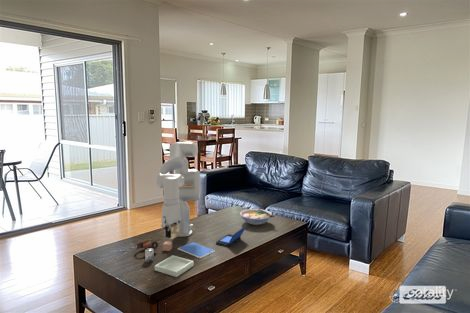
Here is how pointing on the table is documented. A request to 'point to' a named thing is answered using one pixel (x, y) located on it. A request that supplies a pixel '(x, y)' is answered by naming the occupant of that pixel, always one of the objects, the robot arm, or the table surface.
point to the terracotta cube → (167, 246)
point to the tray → (174, 265)
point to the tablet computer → (196, 250)
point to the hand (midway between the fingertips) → (171, 235)
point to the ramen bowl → (256, 216)
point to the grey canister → (149, 255)
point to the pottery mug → (147, 245)
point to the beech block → (174, 231)
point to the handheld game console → (230, 238)
